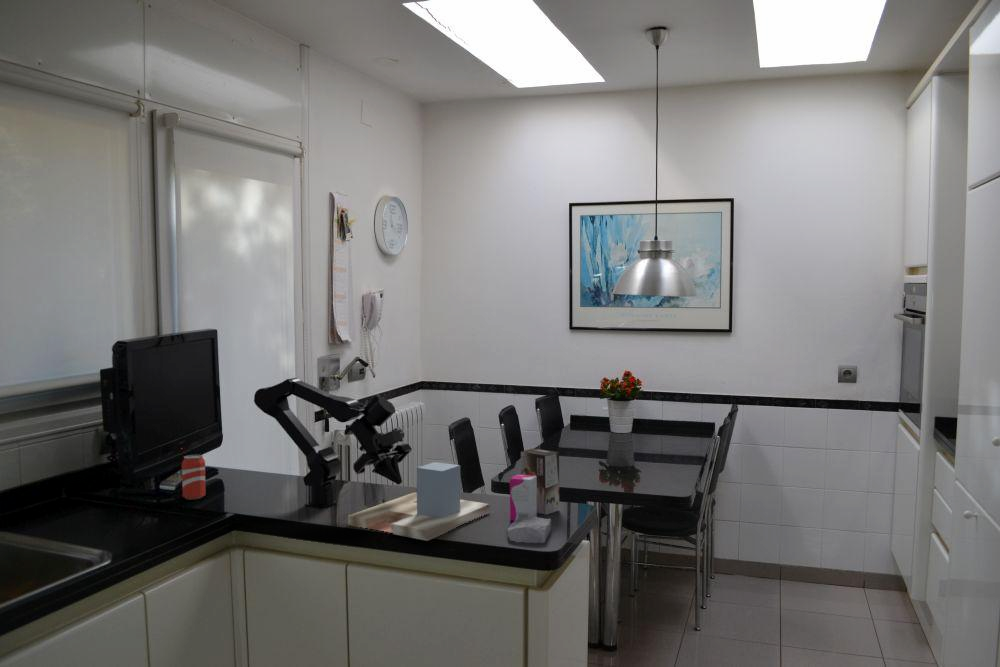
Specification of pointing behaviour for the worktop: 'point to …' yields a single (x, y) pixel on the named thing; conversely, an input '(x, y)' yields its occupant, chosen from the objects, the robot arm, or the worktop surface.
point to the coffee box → (543, 477)
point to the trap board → (414, 518)
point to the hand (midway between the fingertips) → (400, 483)
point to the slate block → (438, 489)
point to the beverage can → (193, 477)
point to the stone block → (530, 530)
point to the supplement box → (523, 497)
